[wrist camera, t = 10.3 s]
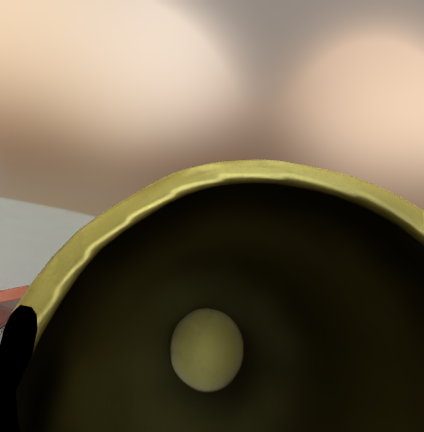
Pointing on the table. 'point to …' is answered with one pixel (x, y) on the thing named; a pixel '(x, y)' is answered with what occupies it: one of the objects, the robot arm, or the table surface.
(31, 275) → the table surface
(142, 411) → the vase
